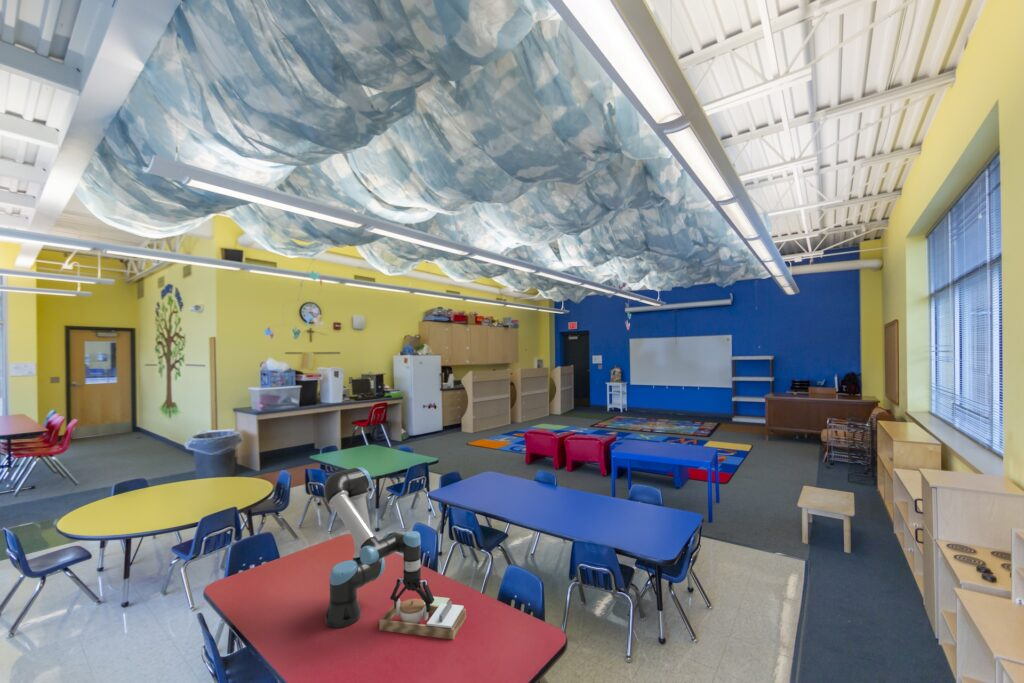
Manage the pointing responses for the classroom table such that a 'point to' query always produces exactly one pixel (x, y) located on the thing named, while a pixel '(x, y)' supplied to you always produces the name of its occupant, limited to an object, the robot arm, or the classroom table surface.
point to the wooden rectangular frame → (421, 625)
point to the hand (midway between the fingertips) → (412, 617)
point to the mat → (439, 600)
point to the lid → (445, 615)
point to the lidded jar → (412, 610)
